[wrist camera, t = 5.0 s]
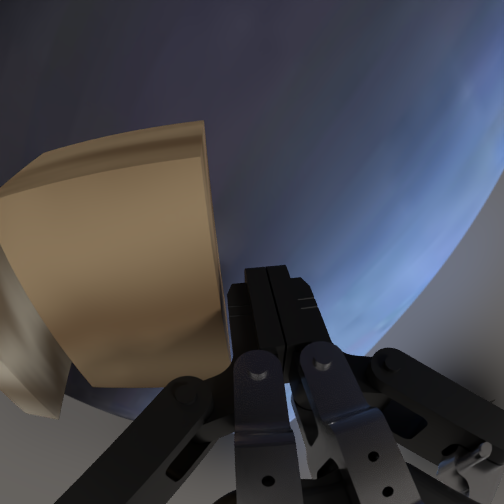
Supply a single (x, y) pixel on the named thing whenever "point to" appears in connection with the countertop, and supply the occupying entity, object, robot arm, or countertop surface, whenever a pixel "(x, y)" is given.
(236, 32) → the countertop surface
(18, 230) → the oak block
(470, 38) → the countertop surface
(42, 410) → the board
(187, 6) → the countertop surface
